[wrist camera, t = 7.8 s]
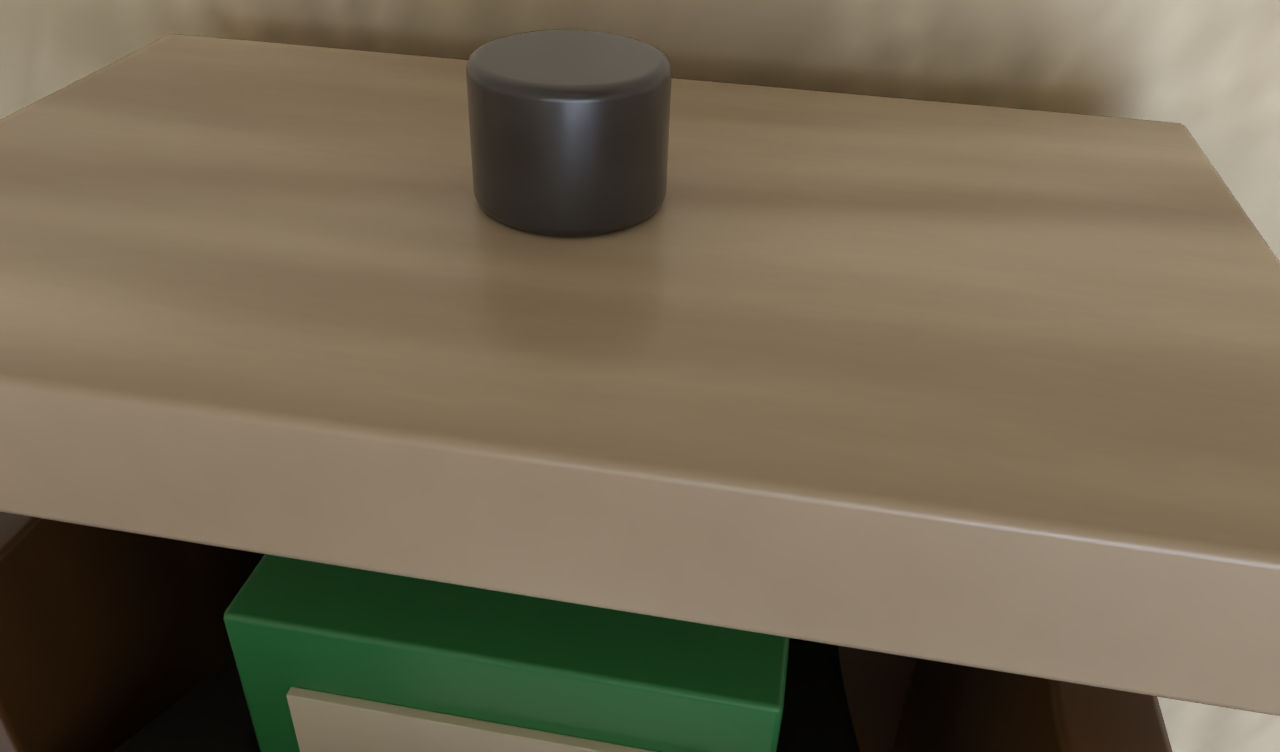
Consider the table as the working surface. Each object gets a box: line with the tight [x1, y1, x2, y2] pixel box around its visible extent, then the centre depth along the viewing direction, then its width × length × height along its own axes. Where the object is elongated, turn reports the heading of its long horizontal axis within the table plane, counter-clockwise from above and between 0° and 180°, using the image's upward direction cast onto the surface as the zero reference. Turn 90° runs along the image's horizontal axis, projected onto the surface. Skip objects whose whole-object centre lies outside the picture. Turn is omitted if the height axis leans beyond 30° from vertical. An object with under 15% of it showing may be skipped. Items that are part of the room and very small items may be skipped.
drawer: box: [0, 30, 1280, 752], centre depth 12 cm, size 14×11×7 cm
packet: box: [223, 554, 790, 752], centre depth 12 cm, size 5×6×5 cm
